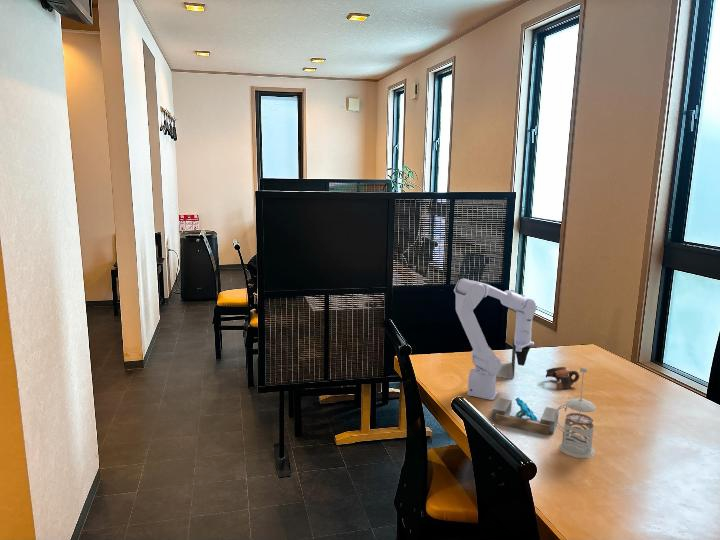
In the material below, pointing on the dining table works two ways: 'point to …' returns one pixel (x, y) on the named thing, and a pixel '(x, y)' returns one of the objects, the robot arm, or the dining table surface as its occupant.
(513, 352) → the laptop
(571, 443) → the french press
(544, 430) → the cradle
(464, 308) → the robot arm
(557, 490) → the dining table surface
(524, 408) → the blue knobby piece
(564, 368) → the pottery mug
